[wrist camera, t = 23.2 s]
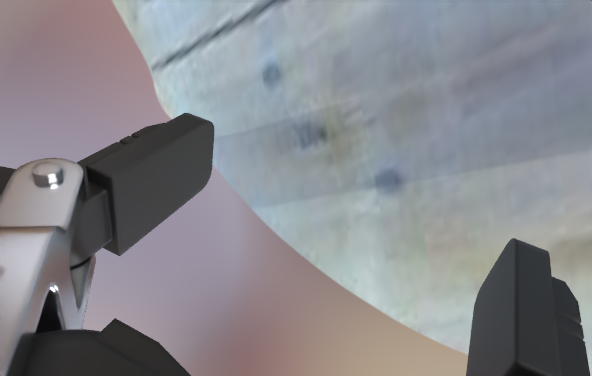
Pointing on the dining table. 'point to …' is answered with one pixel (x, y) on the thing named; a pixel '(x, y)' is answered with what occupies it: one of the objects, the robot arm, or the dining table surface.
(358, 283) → the dining table surface
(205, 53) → the dining table surface
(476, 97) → the dining table surface
